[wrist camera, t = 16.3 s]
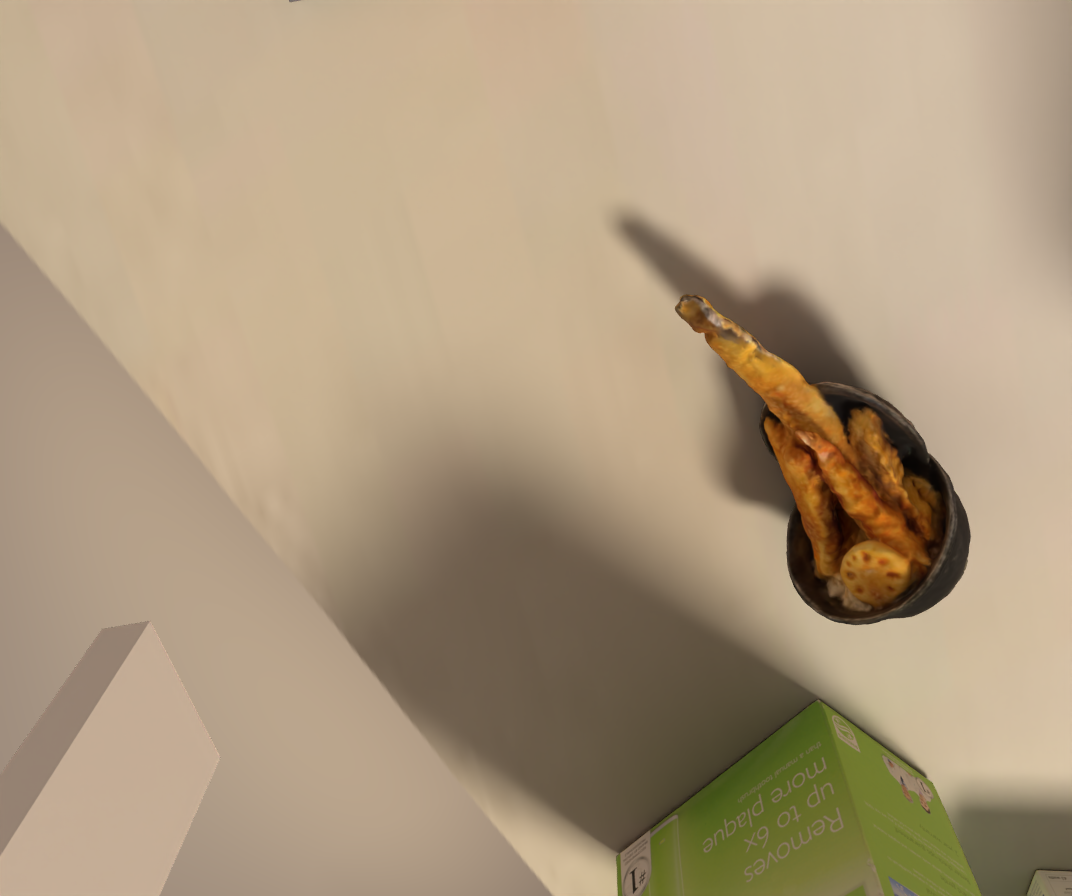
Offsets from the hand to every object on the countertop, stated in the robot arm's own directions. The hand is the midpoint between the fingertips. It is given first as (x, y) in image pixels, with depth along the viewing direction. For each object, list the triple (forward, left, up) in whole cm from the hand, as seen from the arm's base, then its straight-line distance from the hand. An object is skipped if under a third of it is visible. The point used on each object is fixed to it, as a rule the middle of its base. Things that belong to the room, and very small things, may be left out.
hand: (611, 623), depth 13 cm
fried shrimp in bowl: (-8, +14, -31) cm, 35 cm away
